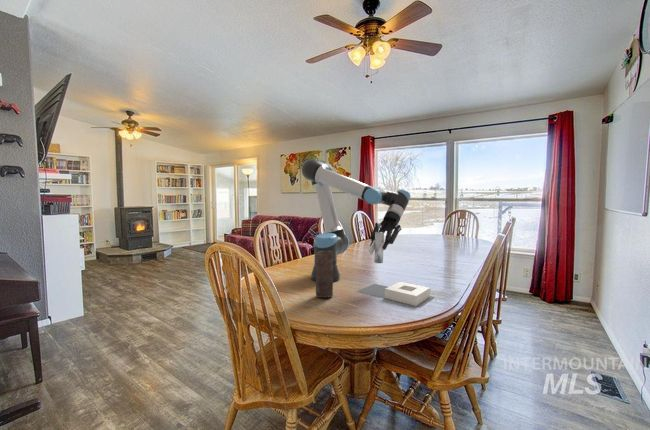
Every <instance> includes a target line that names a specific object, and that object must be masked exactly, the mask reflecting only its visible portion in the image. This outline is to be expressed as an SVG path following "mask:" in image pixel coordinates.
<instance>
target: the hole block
mask: <svg viewBox="0 0 650 430" xmlns="http://www.w3.org/2000/svg"><path fill="white" fill-rule="evenodd" d="M387 287H388V288H385V298H387V299H391V300H395V301H399V302H403V303H407V304H411V305H415V306H417V305H419V304H420V303H422V302H423V301H425V300H426V299H428V298H429V297H430V296H431V287H429V286H428V287H427V286H423V285H418V284H414V283H413V284H412V283H409V282H405V281H398V282H396V283H394V284H391V285H390V286H387ZM387 299H386V300H387ZM391 300H390V301H391ZM395 301H394V302H395ZM399 302H398V303H399Z"/></svg>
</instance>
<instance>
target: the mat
mask: <svg viewBox="0 0 650 430" xmlns="http://www.w3.org/2000/svg"><path fill="white" fill-rule="evenodd" d="M388 287H389V286H386V285H383V284H377V283H373V284H370V285H368V286H366V287H364V288H361V289H358V290H357V291H356V293H360V294H364V295H367V296H368V295H369V296H371V297H375V298H380V299H384V300H387V301H392V302H394V303H400V304H402V305H403V304H404V305H406V306H411V307H414V308H419V309H421V308H422V307H424V306H426V305H427V304H428V303H429V302H432V301H433V300H434V299H435V298H436V296H431V295H430V297H429V298H428V299H426V300H425V301H423V302H422V303H420V304H419V305H417V306H415V305H411V304H407V303H403V302H399V301H395V300H391V299H387V298H385V288H388Z"/></svg>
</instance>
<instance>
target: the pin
mask: <svg viewBox="0 0 650 430" xmlns="http://www.w3.org/2000/svg"><path fill="white" fill-rule="evenodd" d="M383 241H384V242H385V233H384V232H375V250H374V252H373V253H374V255H373V256H374V257H373V258H374V259H373V262H374V263H375V264H383V263H384V252H383V253H382V255H381V256H379V255H378V253H377V252H378V250H379V248H380V246H381V244H382V242H383Z"/></svg>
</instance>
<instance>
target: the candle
mask: <svg viewBox="0 0 650 430" xmlns="http://www.w3.org/2000/svg"><path fill="white" fill-rule="evenodd" d="M333 284H334V282H333V251H318V252H317V253H316V281H315V295H316V297H318V298H324V299H326V298H330V297H331V298H332V297H333V295H334V291H333V290H334V285H333Z"/></svg>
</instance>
